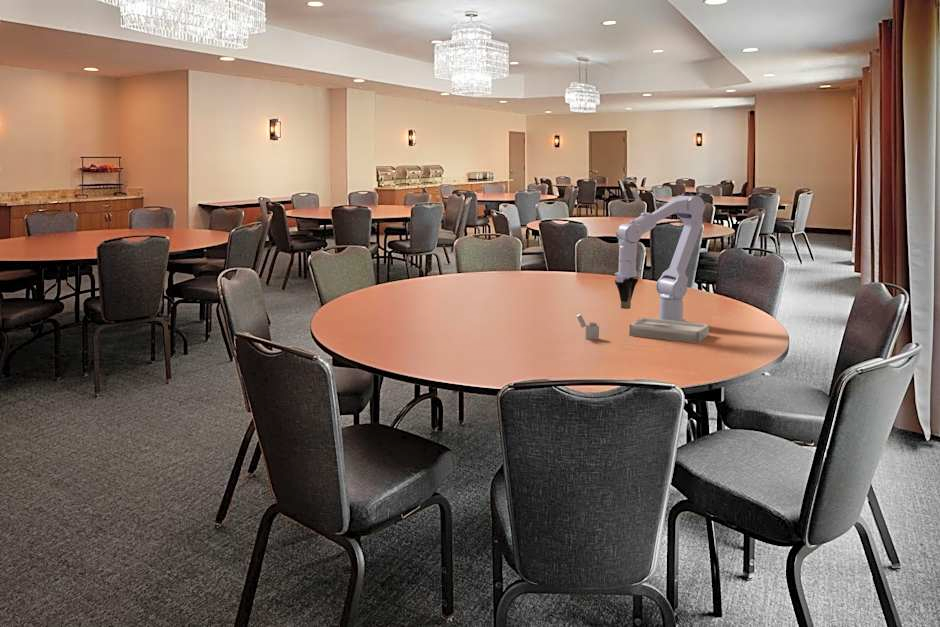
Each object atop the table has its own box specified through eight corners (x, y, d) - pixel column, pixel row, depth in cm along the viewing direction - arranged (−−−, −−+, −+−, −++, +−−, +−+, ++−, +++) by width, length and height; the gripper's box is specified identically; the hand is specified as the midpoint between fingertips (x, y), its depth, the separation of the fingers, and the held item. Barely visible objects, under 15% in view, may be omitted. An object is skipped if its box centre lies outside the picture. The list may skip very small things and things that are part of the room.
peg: (622, 306, 245) (623, 283, 243) (631, 307, 243) (632, 284, 242) (619, 308, 242) (620, 284, 241) (628, 309, 240) (629, 285, 239)
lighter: (598, 338, 229) (599, 313, 228) (598, 339, 228) (599, 314, 226) (576, 337, 231) (576, 313, 229) (576, 339, 229) (576, 314, 227)
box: (641, 327, 244) (642, 317, 243) (708, 335, 233) (709, 324, 232) (629, 335, 233) (629, 324, 233) (698, 343, 222) (699, 332, 221)
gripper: (623, 257, 247) (622, 296, 250) (608, 262, 235) (606, 303, 238) (643, 258, 244) (641, 297, 247) (629, 263, 232) (627, 305, 234)
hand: (626, 300), depth 242 cm, fingers closed on peg, 3 cm apart
